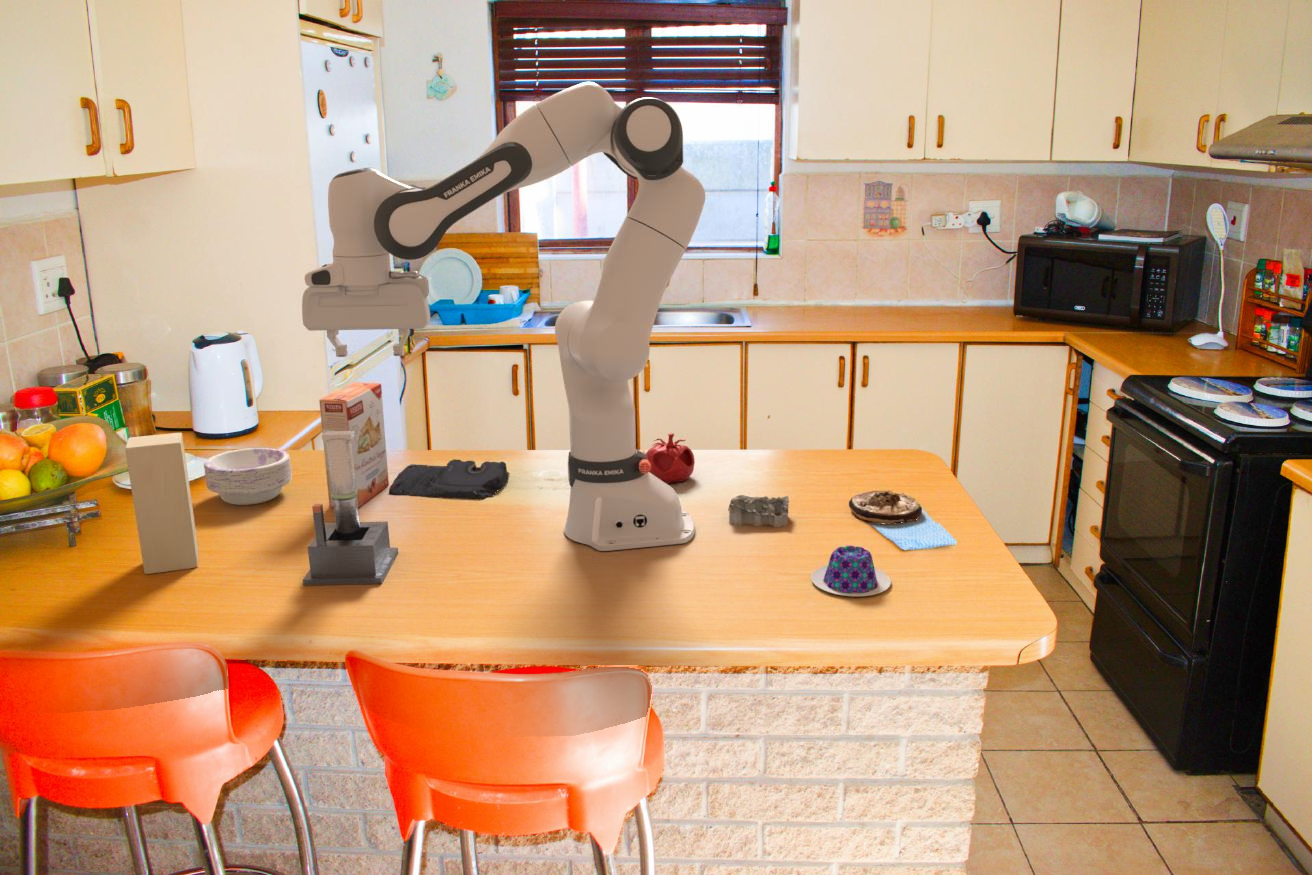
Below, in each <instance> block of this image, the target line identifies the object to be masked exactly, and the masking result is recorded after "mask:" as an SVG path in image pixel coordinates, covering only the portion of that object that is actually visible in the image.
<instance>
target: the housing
mask: <svg viewBox="0 0 1312 875" xmlns="http://www.w3.org/2000/svg"><path fill="white" fill-rule="evenodd" d="M323 506H324V505H323V503H314V504H312V506H311V507H312V516H313V524H314V534H315V536H314V537H313V539H312V540H311V542H310V543H309V545H307V554H308V562H309V569H308V571H307V573H306V574H305V576H304V577H303V579H302V585H303V586H345V585H348V586H349V585H351V586H352V585H355V586H356V585H382V584H383V583H384V581H385V578H386V577H387V575H388V573H389V571H390V570H391V567H392V565H393V564H394V562H395V560H396V558H397V556H398V555H399V547H391V543H390V532H389V522H388V521H359V522H360V529H359V530H358V531H356V532H352V533H338V532H337V531H336V523H335V522H325V514H324V508H323Z"/></svg>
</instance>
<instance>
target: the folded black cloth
mask: <svg viewBox="0 0 1312 875" xmlns="http://www.w3.org/2000/svg"><path fill="white" fill-rule="evenodd" d="M509 476H510V472H508V470H507V464H506V462H504V461H498V462H497V461H489V460H488V461H484V462H483V463H481V465H480V466H478V467H477V465H476V462H475V461H474V460H465V461H463V460H460V459H451V460H449V461H448V463H446V465H428V464H414V463H411V464H409V465H407V466H406V467H405V468H403V470H401V472H399V473H398V474H397V476H396V477H395V478H394V479H393V482H392V484H391V485H390V487H389V489H388V490H389V491H388V494H389V495H393V496H405V497H406V496H409V497H421V498H436V499H437V498H438V499H440V498H441V499H460V500H461V499H464V500H477V499H479V501H481V500H480V499H482V500H484V499H485V498H494V496H495V495H496V494H495V492H496V493H497V492H498V491H497V490H499V491H501V490H502V489H503V488H504V487H506V485H507V484H508V482H509ZM506 483H507V484H506ZM505 484H506V485H505ZM500 489H501V490H500ZM493 495H494V496H493Z"/></svg>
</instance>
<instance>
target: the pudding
mask: <svg viewBox="0 0 1312 875" xmlns="http://www.w3.org/2000/svg"><path fill="white" fill-rule="evenodd" d="M810 580H811V581H812V583H813V584H814V585H815V586H816V587H817V588H819V589H821V590H823V591H825V592H827V593H831V594H834V595H840V596H846V597H867V596H868V597H869V596H874V595H877V594H880V593H883V592H885V591H886V590H888V589H889V588H890V586H891V583H892V580H891V578H890V576H889V575H887V573H885V572H884V571H882V570H880V569H879V568H875V565H874V560H873V556H872V554H871V552H870V550H867V549H865V548H864V547H861V546H855V545H845V546H838V547H836V548H835V549H834V550H833V551H832V552H831V554H830V556H829V560H828V564H826V565H824V566H820V567H818V568H816V569H815V570H814V571H813V572H811V575H810ZM870 590H871V591H870Z"/></svg>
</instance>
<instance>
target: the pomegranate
mask: <svg viewBox="0 0 1312 875" xmlns="http://www.w3.org/2000/svg"><path fill="white" fill-rule="evenodd" d="M667 436H668V440H667V442H666V441H665V440H663V439H662V438H656V439H655V440H653V442H655V441H660V442H656V443H654V444H652V445H651V447H650V449H648V450H647V451H646V452H645V453H646V455H647V456H648V460H649V461H650V463H651V468H650V469H651V470H650V471H649V472H650V473H651V474H653V475H654V476H656V477H657V478H659V479H660V480H662V481H663V482H665V483H666V484H673V483H680V482H684V481H686V480H688V479H689V477H691V476H692V474H693V473H694V469H695V463H696V462H695V455H694V453H693V451H692V449H691V448H690V447H688V446H686V445H682V444H679V443H680V442H686V439H677V440H676V441H674V436H675V433H673V432H670V433H668V434H667ZM673 441H674V442H673Z"/></svg>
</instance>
